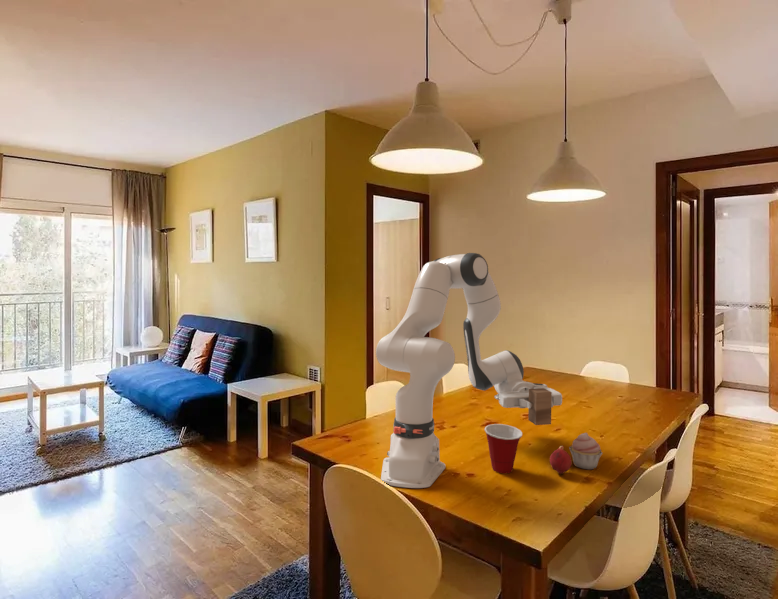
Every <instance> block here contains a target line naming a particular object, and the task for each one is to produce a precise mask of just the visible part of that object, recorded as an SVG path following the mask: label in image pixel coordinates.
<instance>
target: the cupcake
mask: <svg viewBox="0 0 778 599" xmlns="http://www.w3.org/2000/svg"><path fill="white" fill-rule="evenodd" d="M568 448H569V451H570V453H571V459H572V461H573V465H574V466H575V467H577V468H580V469H583V470H595V469H596V468H597V466H598V464H599V460H600V458H601V456H602V455H603V452H602V450H601V445H600V444H599V443H598V441H597V440H596V439H594V438H593V437H592V436H590V435H589V434H588V432H584V433H581V434H579V435H578V436H577V438H575V439H574V440H573V441H572V444H571V446H569V447H568ZM594 468H595V469H594Z"/></svg>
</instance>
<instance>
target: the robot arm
mask: <svg viewBox="0 0 778 599" xmlns="http://www.w3.org/2000/svg"><path fill="white" fill-rule="evenodd" d="M451 289H452V290H453V289H458V290H459V289H462V290H463V296H464V299H465V302H466V305H467V312H466V313H467V314H466V318H465V319H464V320H463V327H462V328H463V337H464V344H465V352H466V359H467V373H468V379H469V381H470V383H471V385H472V387H473V388H475V389H477V390H480V391H484V392H485V391H487V390H489V389H491V388H492V387H494V389H495V391H496V393H497V394H495V395H494V399H496V400H498V403H499V405H500V406H501V407H503V408H507V409H508V408H510V409H511V408H512V409H513V408H519V409H529V408H534V406H533V405H534V403H533V402H531V401H529V389H537V388H544V389H546V390H548V391H550V392H552V399H551V408H553V407H554V406H561V405H562V403H563V395H562V393H561V392H559V391H557V390H556V389H554V388H551V387H548V385H547V384H545V383H535V382H534V383H533V382H530V381H525V380H523V379H524V374H525V373H524V372H525V370H524V366H523V364H522V361H521V359H520V358H519V356H518V355H517V354H515V353H514V352H513V351H510V350H507V349H505V350H503V351H499V352H498V353H496V354H493V355H491V356H489V357H487V358H486V357H485V358H484V359H482V357H481V356H482V355H481V350H480V343H479V342H480V341H479V340H480V337H481V335H482V334H483V333H484V331H485V330H486V329H487V328H488V327H489V326H491V324H492V323H493V322H494V321H495V320H496V319H497V318H498V316H499V315H500V312H501V310H502V308H501V307H502V306H501V305H502V303H501V299H500V297H499V293H498V289H497V287H496V284H495V282H494V280H493V277H492V276H491V273H490V272H489V265H488V262H487V261H486V259H485V257H484V256H482V255H481V254H480V253H477V252H468V253H467V252H466V253H459V254H452V255H447V256H445V257H439V258H436V259H434V260H433V261H428V262H426V263H425V264H424V265H423V266H422V268H421V270H420V272H419V273H418V276H417V278H416V281H415V283H414V287H413V289H412V292H411V297H410V300H409V302H408V306H407V309H406V311H405V314H404V315H403V317H402V319H401V320H400V322H399V323H398V324H397V325H396V327H395V328H394V329H393V330H392V331H391V332H389V333H388V334H386V335H384V336H382V337H381V339H380V340H379V341H378V342H377V345H376V348H375V355H376V356H375V357H376V360H377V362H378V363H379V364H380V365H381V366H383V367H385V368H387V369H389V370H392V371H396V372H402V373H403V372H404V373H409V376H410V377H409V381H408V383H407V384H405V385H403V386H401V387H400V388H398V390H397V392H396V394H395V417H394V420H393V429H392V430H393V433H392V434H391V435H390V446H389V447H390V448H389V450H388V451H387V454H386V455H387V457H385V458H383V461H382V468H381V473H380V475H381V476H380V481H381V480H382V481H384V482H386V483H388V484H389V486H392V487H399V488H409V489H423V488H424V489H425V488H430V487H431V486H432V485H433V484H434V482H435V481H436V480H437V479H438V477H439V476H440V475H441V474H443V471H445V469H446V464H445V463H444V462H442V461H441V459H440V457H441V456H440V438H438V436H437V435H435V433H434V432H435V419H434V418H433V408H434V407H433V406H434V404H433V403H434V394H435V390H436V389H437V386H438V384H439V382H440V381H441V379H442V378H443V377H445V376H447V375H448V374H449V373H450V371H452V369H453V367H454V364H455V360H456V354H455V351H454V348H453V346H452V345H451V343H449V342H448V341H446V340H443V339H440V338H437V337H436V338H435V337H428V336H426V335H427V333H429V332H430V331H432V330H433V329H435V328H437V327H438V326H439V325H441V323H442V321H443V318H444V314H445V311H446V307H447V303H448V298H449V294H450V290H451ZM388 484H387V485H388Z"/></svg>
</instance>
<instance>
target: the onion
mask: <svg viewBox="0 0 778 599" xmlns="http://www.w3.org/2000/svg"><path fill="white" fill-rule="evenodd" d="M572 461H573V460H572V456H570V454H569V453H568V452H567V451H566V450H564V446H563V445H560V446H559V447H558V448H557V449H555V450H554V451H553V452H552V453H551V454H550V456H549V464H550V466H551V469H553V470H554V471H555V472H557V473H558V474H559V475H562V474H564V473H565V472H567V471H568V470H570V468H571V467H572Z"/></svg>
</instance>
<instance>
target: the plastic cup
mask: <svg viewBox="0 0 778 599" xmlns="http://www.w3.org/2000/svg"><path fill="white" fill-rule="evenodd" d="M484 432H485V433H486V439H487V445H488V451H489V452H488V453H489V458H490V463H491V469H492V470H493V472H495V471H496V472H495V473H498V472H499V473H498V474H510V473H512V472H513V469H514V464H515V461H516V456H517V451H518V446H519V442H520V440H521V438H522V437H523V432H522V430H521V429H519V428H517V427H516V426H512V425H508V424H503V423H494V424H488V425H486V426H485V427H484Z"/></svg>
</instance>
